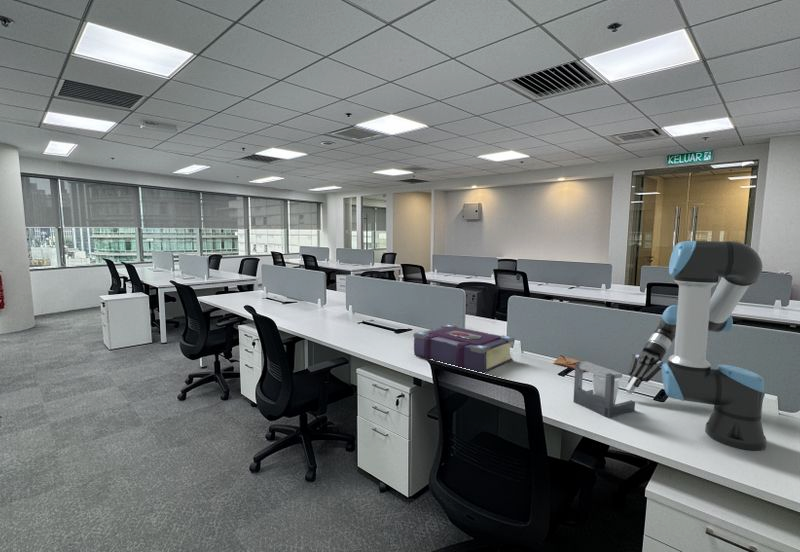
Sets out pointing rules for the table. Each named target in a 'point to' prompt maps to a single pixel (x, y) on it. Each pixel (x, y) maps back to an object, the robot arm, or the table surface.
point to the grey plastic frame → (596, 402)
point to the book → (463, 348)
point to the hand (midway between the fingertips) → (628, 391)
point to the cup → (603, 386)
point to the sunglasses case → (567, 362)
